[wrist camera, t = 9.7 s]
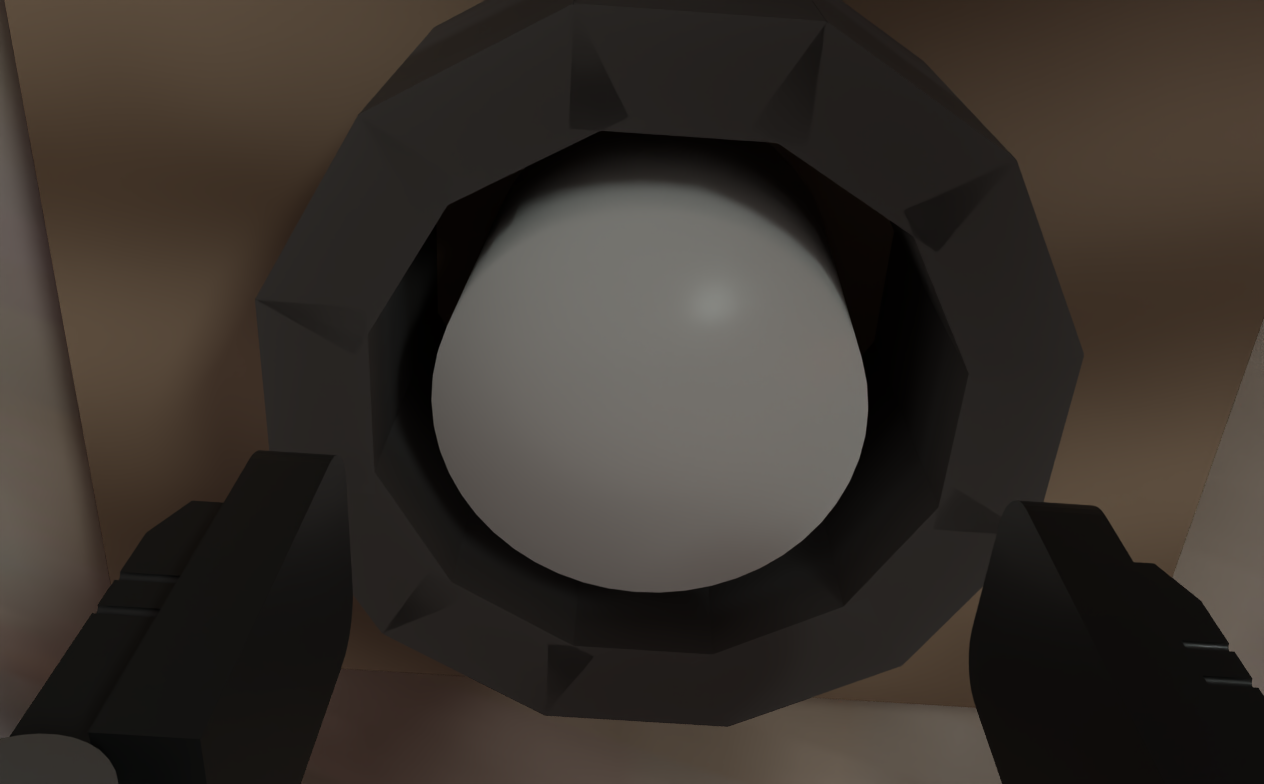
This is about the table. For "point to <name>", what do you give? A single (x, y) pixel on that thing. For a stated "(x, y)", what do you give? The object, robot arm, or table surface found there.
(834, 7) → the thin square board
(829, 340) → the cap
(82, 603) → the table surface
